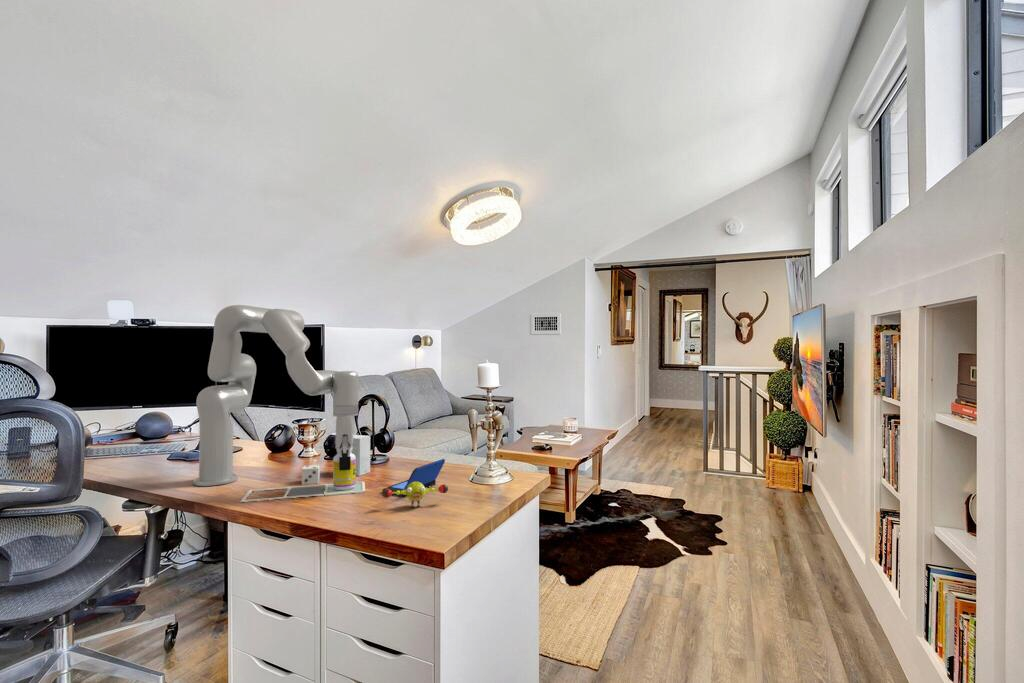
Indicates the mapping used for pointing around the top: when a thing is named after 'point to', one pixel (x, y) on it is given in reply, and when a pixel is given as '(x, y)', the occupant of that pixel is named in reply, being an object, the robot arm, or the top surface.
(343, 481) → the supplement bottle
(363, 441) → the small box
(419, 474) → the handheld game console
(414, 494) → the toy figure
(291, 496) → the board
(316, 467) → the die
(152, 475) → the top surface
